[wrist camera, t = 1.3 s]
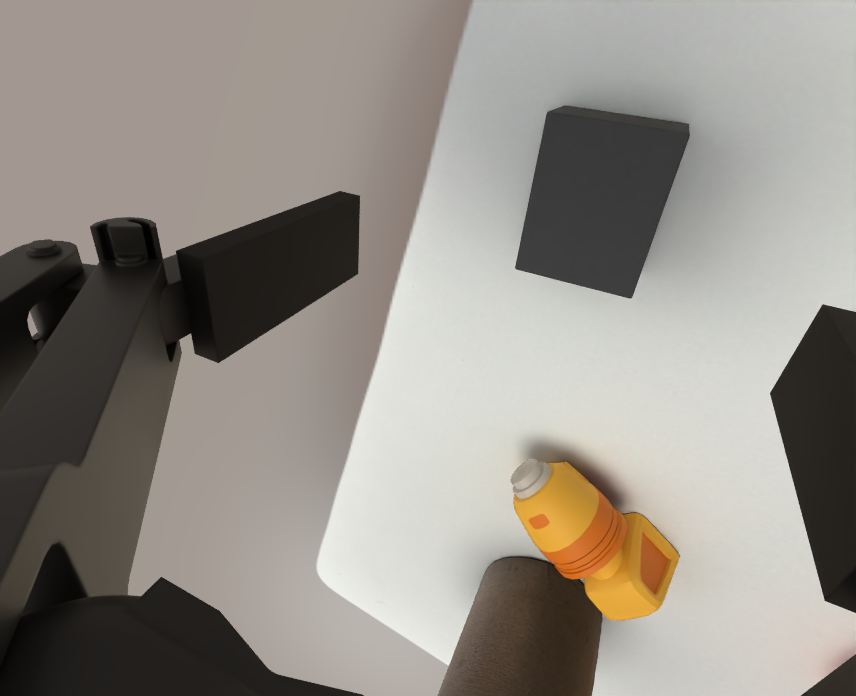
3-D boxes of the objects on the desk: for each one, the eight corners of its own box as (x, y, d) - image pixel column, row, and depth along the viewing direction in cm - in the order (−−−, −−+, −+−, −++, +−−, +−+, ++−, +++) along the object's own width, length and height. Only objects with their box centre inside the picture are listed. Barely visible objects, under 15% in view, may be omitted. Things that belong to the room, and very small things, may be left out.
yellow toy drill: (505, 457, 34) (617, 578, 35) (478, 514, 30) (607, 650, 31) (564, 425, 31) (687, 559, 32) (544, 483, 27) (687, 637, 28)
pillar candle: (588, 563, 36) (542, 811, 24) (613, 651, 39) (583, 907, 27) (468, 549, 41) (380, 749, 29) (499, 629, 44) (432, 837, 32)
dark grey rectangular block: (563, 105, 23) (546, 111, 20) (689, 123, 21) (690, 133, 18) (531, 247, 27) (514, 269, 24) (637, 273, 25) (631, 299, 22)
